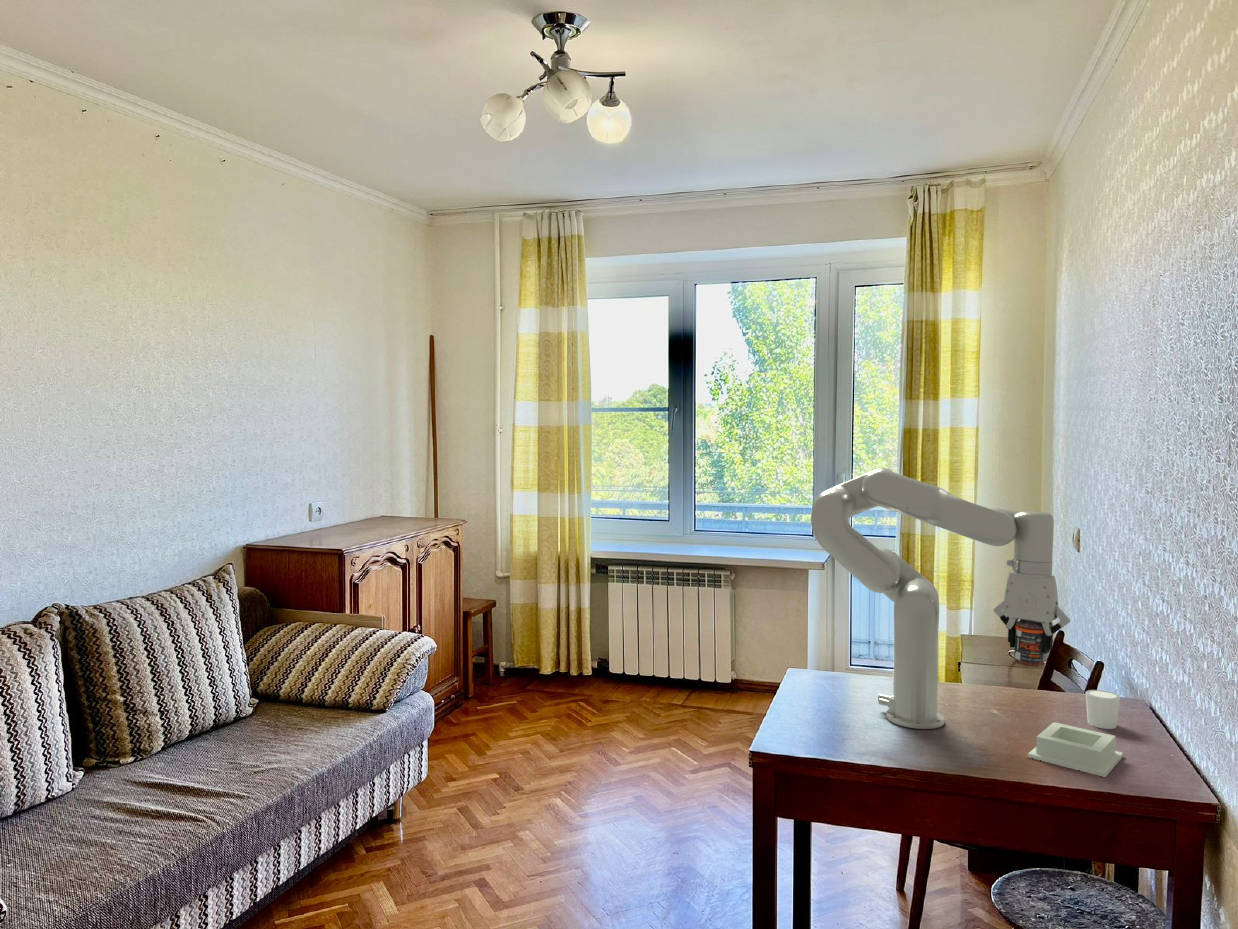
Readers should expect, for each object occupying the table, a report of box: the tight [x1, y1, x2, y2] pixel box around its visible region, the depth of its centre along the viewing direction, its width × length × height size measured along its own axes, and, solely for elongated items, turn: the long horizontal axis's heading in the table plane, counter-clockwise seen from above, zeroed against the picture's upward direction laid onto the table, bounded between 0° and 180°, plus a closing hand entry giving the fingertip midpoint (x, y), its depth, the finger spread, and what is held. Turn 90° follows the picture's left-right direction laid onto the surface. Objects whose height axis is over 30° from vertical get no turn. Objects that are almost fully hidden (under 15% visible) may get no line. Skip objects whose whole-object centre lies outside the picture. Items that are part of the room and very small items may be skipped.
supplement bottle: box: [1013, 619, 1045, 668], centre depth 180 cm, size 6×6×11 cm
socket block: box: [1027, 722, 1124, 778], centre depth 168 cm, size 14×14×4 cm
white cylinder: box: [1084, 689, 1121, 730], centre depth 186 cm, size 7×7×7 cm
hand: (1029, 648), depth 180 cm, fingers closed on supplement bottle, 6 cm apart
